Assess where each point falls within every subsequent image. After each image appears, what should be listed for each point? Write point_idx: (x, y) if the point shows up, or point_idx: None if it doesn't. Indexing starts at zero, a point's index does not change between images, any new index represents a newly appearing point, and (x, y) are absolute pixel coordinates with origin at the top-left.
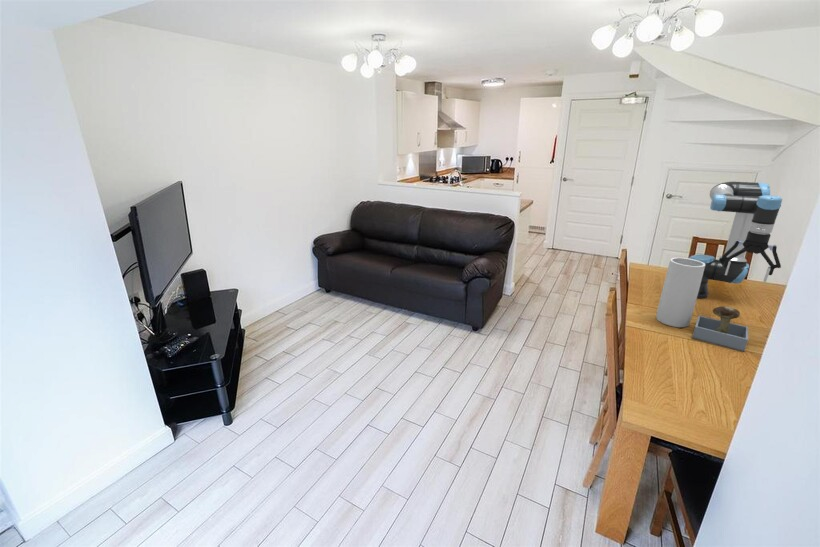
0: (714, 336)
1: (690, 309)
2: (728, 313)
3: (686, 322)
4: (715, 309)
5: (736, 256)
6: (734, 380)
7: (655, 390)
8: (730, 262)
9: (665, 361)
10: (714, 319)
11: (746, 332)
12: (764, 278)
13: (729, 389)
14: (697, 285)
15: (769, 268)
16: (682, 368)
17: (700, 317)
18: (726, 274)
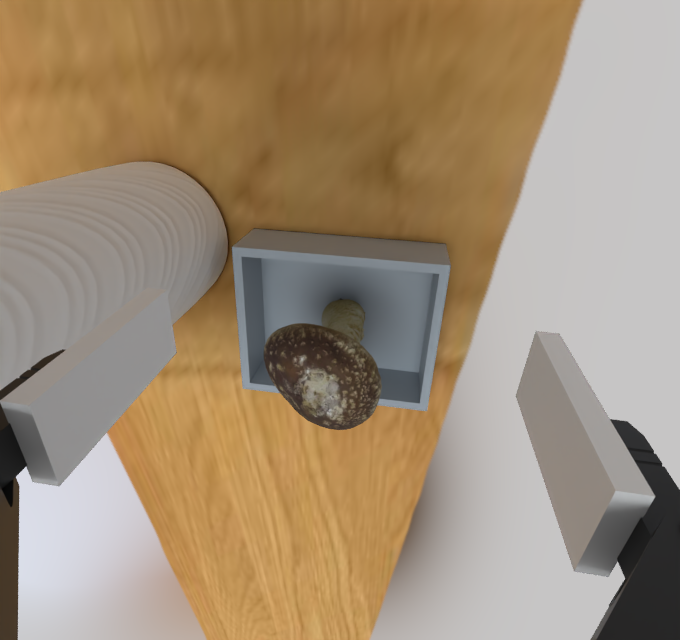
0: None
1: (179, 314)
2: (325, 427)
3: (211, 285)
4: (270, 376)
5: (16, 608)
6: (380, 542)
7: (240, 620)
8: (62, 477)
9: (228, 525)
10: (302, 260)
11: (431, 341)
12: (534, 385)
13: (367, 576)
14: None
15: (590, 571)
16: (268, 538)
17: (245, 255)
18: (167, 356)
